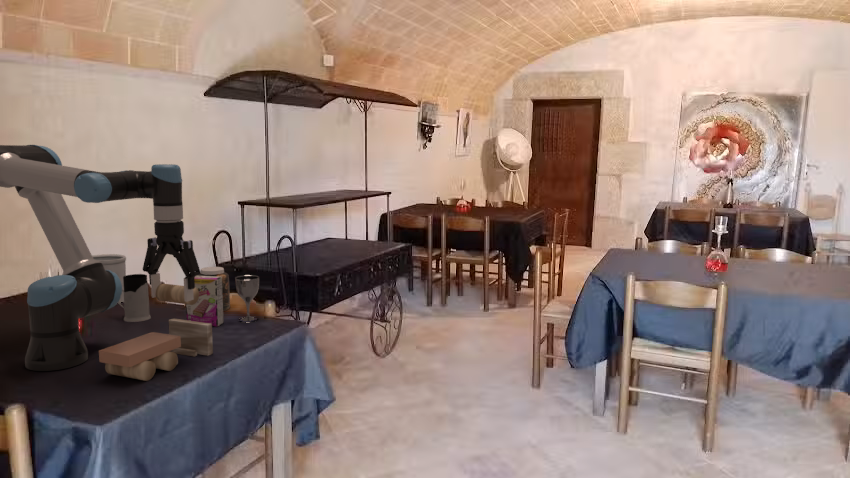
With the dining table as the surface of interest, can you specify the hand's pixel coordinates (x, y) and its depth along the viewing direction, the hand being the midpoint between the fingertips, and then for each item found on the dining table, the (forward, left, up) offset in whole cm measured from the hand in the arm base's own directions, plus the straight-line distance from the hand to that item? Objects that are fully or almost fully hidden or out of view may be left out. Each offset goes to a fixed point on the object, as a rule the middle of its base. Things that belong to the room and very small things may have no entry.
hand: (172, 298), depth 179 cm
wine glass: (+33, +26, -18) cm, 46 cm away
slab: (-10, -6, -12) cm, 17 cm away
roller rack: (-5, -3, -17) cm, 18 cm away
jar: (+29, +48, -18) cm, 59 cm away
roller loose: (0, 0, -1) cm, 1 cm away
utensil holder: (0, +81, -18) cm, 83 cm away
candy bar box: (+19, +29, -18) cm, 39 cm away
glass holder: (+1, +52, -18) cm, 55 cm away
